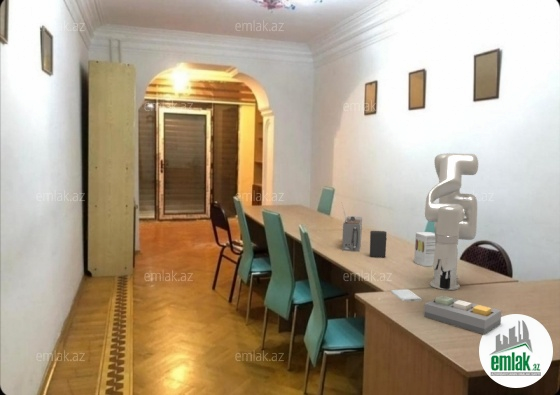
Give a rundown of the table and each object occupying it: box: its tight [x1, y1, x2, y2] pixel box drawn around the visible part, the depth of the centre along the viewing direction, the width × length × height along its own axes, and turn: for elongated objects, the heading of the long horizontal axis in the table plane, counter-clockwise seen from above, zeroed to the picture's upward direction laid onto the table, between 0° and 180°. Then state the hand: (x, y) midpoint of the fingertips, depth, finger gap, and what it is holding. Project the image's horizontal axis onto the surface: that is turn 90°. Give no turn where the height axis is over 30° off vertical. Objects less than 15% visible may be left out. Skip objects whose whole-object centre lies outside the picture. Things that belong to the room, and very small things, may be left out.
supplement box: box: [413, 231, 435, 268], centre depth 245 cm, size 10×9×17 cm
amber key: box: [473, 304, 492, 316], centre depth 159 cm, size 5×5×2 cm
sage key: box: [434, 295, 454, 306], centre depth 169 cm, size 5×5×2 cm
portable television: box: [341, 203, 363, 252], centre depth 285 cm, size 12×24×30 cm, turn 167°
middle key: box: [453, 299, 473, 311], centre depth 164 cm, size 5×5×2 cm
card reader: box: [369, 230, 388, 259], centre depth 260 cm, size 9×4×15 cm, turn 80°
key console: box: [423, 295, 502, 336], centre depth 164 cm, size 14×22×5 cm, turn 44°
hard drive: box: [390, 288, 423, 303], centre depth 191 cm, size 2×8×12 cm
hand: (444, 288), depth 168 cm, fingers closed
